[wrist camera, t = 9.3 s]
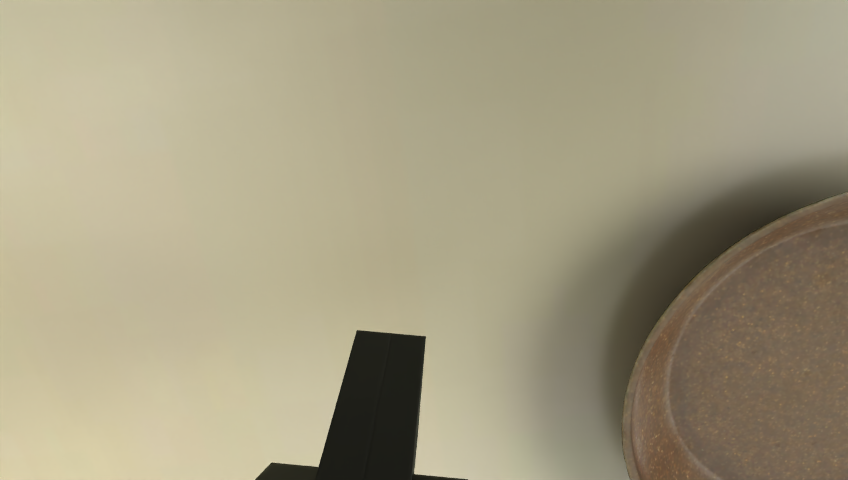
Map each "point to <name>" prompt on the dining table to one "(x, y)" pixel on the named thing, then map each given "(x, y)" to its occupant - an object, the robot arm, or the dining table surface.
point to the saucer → (750, 362)
